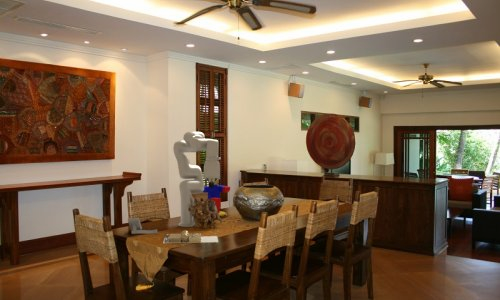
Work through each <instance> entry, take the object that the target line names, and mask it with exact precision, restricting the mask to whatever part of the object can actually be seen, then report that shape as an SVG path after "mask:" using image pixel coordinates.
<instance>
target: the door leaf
mask: <svg viewBox="0 0 500 300" xmlns="http://www.w3.org/2000/svg"><path fill="white" fill-rule="evenodd" d="M188 232H189V231H188ZM188 232H184V233H186V234H188V236H189V242H201V237H202V233H201V232H200V233H197V232H196V233H194V232H193V233H188ZM184 233H183V234H184Z"/></svg>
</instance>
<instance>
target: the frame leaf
mask: <svg viewBox="0 0 500 300" xmlns="http://www.w3.org/2000/svg"><path fill="white" fill-rule="evenodd" d="M184 232H188V233H189V231H188V230H186V229H184V230H182V232H181V233H170V234H169V243H168V244H174V243H173V242H181V241H182V242H187V241H188V239H189V236H188V234H186V233H184ZM183 233H184V234H183ZM189 234H190V233H189Z"/></svg>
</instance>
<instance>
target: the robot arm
mask: <svg viewBox="0 0 500 300" xmlns="http://www.w3.org/2000/svg"><path fill="white" fill-rule="evenodd" d="M219 146H220V145H219V140H217V139H213V138H205V134H204V133H203V132H201V131H187V132H185V133H184V134H183V140H177V141H175V142H174V143H173V148H172V149H173V154H174V157H175V159H176V161H177V168H178V169H177V170H178V174H179V177H180V179H183V181H181V182H180V183H179V185H178V186H179V189H178V190H179V193H180V194H179V195H180V222H179V223H178V224H177V225H178V226H179V227H183V228H189V227H194V224H195V220H193V218H195V215H194V216H192V214H193V212H192V211H188V209H189V207H190V208H191V206H195V203H194V201H195V198H194V197H193V195H192V194H201V193H204V192H203V191H204V186H205V183H204V180H206V181H208V186H209V187H210V189H211V179H210V177H213V181H212V189H213V187H214V182H215V181H216V180H218V181H219V180H221V164H220V161H221V157H219ZM199 151H201V152H202V151H204V152H205V151H206V154H205V161H204V164H203V172H202V168H201V167H200V166H199V165H196V164H195V165H194V164H193V165H192V164H191V163H190V159H189V156H188V155H186V154H185V153H196V152H199ZM191 209H194V208H191Z"/></svg>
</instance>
